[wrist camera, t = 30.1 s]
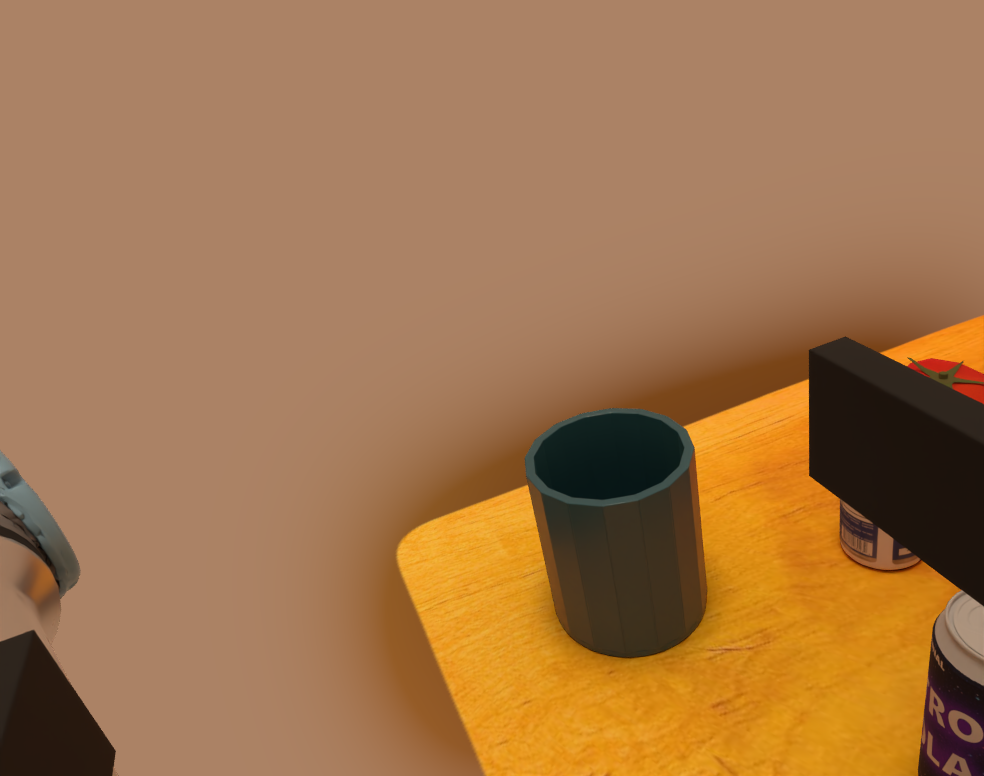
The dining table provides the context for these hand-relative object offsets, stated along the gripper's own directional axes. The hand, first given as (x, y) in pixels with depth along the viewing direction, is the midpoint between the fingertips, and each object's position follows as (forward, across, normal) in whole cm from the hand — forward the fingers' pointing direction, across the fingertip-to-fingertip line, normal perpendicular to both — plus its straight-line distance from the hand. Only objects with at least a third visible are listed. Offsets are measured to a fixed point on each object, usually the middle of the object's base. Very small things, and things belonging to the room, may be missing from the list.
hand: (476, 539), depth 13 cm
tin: (+28, -13, +32) cm, 44 cm away
